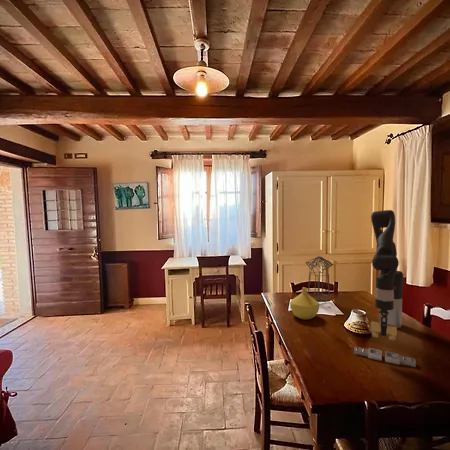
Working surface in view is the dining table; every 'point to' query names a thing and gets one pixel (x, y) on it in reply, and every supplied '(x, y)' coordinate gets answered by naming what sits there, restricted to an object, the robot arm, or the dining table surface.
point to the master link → (390, 330)
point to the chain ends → (389, 356)
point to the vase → (304, 305)
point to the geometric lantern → (319, 276)
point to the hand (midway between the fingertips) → (383, 334)
